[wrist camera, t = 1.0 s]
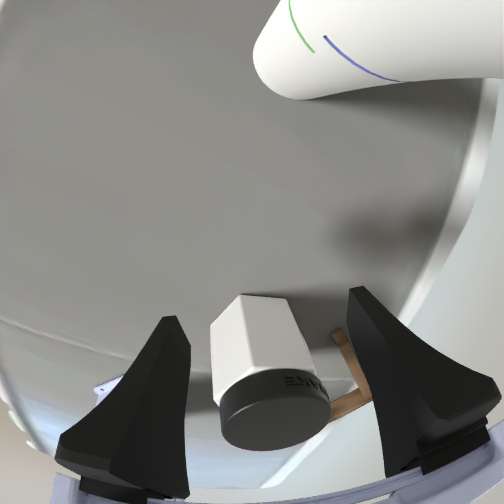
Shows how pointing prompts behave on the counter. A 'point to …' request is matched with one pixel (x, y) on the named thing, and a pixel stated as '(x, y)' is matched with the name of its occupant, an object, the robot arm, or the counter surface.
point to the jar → (265, 376)
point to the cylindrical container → (377, 44)
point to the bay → (363, 392)
